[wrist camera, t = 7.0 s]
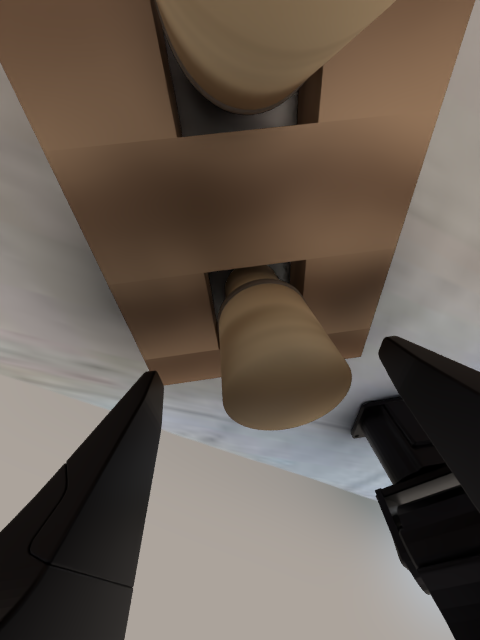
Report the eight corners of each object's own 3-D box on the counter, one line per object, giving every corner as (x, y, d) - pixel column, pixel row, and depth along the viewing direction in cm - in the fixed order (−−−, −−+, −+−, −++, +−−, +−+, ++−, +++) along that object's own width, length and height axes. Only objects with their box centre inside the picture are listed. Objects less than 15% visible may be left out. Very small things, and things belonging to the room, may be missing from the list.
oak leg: (285, 312, 15) (340, 421, 9) (221, 321, 15) (229, 438, 9) (287, 248, 13) (368, 335, 6) (210, 258, 13) (210, 357, 6)
